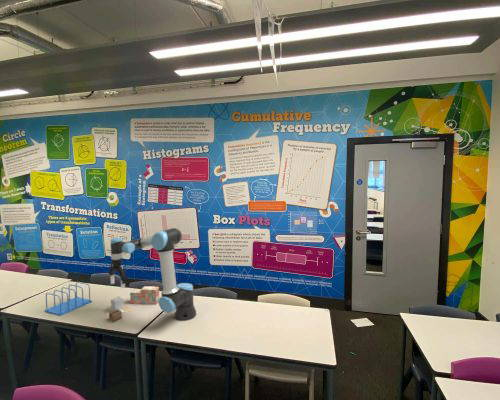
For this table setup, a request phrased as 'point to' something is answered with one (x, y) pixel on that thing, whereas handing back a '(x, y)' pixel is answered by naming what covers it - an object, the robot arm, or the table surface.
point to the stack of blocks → (145, 295)
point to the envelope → (125, 308)
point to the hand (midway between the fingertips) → (117, 285)
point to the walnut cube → (115, 315)
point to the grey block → (117, 303)
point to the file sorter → (68, 302)
